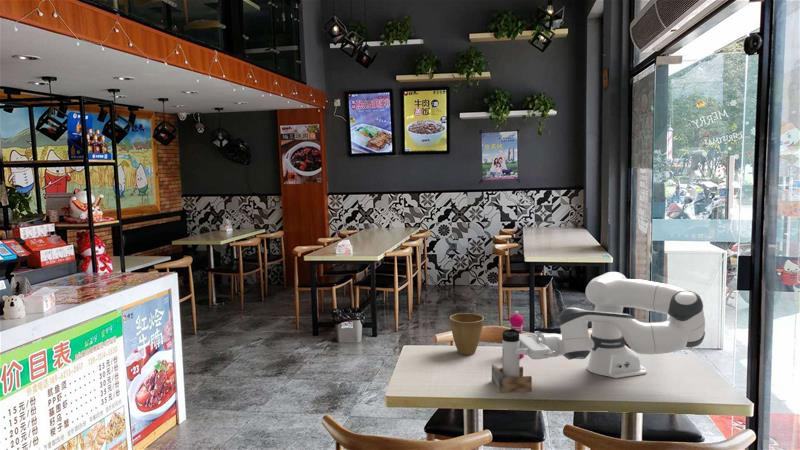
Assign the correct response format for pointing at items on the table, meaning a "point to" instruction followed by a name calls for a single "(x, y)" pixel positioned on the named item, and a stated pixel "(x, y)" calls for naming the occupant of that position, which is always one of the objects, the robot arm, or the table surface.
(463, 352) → the plant pot
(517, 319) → the pepper mill
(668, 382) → the table surface
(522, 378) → the cradle
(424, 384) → the table surface
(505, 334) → the travel mug
